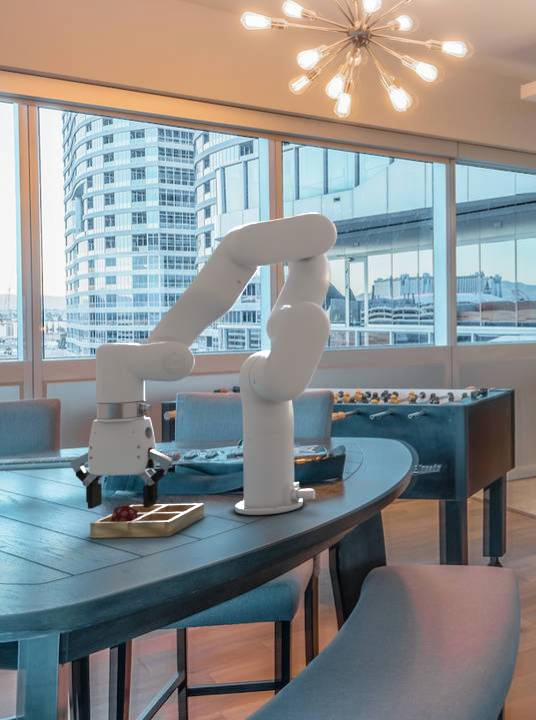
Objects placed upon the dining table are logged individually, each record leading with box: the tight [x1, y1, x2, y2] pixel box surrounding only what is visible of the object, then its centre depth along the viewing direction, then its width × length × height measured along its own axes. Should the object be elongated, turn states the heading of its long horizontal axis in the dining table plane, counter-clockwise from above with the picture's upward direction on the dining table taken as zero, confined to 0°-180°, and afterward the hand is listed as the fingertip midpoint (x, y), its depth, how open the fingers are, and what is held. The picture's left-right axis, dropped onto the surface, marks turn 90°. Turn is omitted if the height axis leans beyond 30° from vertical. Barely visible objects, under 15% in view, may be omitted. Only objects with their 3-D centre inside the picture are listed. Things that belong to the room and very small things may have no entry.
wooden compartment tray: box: [89, 503, 205, 539], centre depth 148 cm, size 14×14×3 cm
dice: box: [111, 504, 138, 522], centre depth 145 cm, size 4×4×4 cm
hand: (122, 506), depth 144 cm, fingers open, 9 cm apart
